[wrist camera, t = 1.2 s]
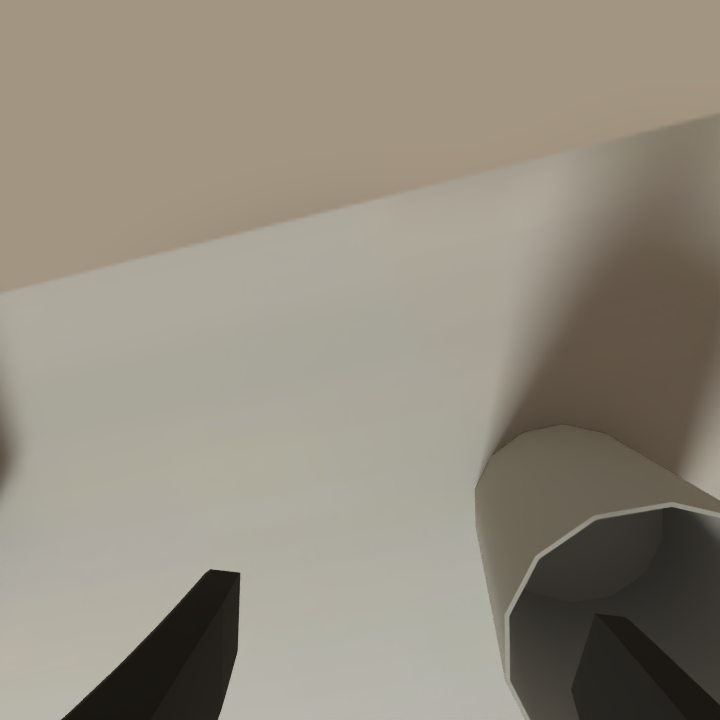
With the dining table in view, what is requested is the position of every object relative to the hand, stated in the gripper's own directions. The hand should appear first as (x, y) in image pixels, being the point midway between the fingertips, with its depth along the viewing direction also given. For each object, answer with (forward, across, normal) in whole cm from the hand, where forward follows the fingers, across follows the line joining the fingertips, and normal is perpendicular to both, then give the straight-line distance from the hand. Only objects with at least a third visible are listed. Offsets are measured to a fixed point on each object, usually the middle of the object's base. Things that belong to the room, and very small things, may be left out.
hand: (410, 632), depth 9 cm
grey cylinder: (+12, -9, +4) cm, 15 cm away
